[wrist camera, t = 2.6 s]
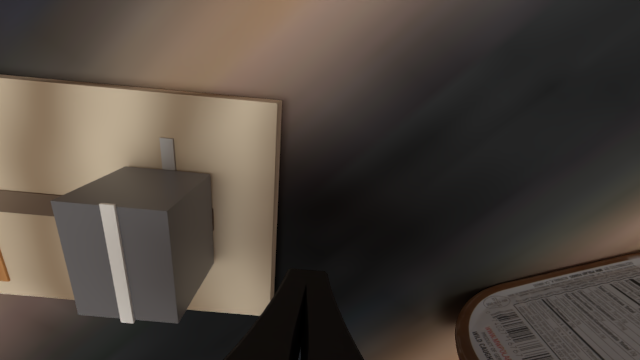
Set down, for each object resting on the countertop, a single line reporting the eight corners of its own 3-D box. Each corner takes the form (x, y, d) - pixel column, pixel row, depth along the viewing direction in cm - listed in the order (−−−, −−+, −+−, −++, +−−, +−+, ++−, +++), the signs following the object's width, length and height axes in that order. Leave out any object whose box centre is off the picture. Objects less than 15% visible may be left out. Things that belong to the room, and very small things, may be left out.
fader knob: (210, 171, 14) (165, 209, 10) (214, 264, 16) (177, 327, 12) (125, 164, 14) (46, 199, 10) (138, 258, 16) (76, 318, 12)
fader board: (282, 100, 14) (276, 103, 13) (273, 297, 18) (269, 318, 17) (-175, 58, 14) (-236, 56, 13) (-81, 267, 18) (-119, 284, 17)
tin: (438, 328, 19) (517, 509, 11) (428, 291, 18) (507, 460, 10) (697, 270, 17) (1014, 439, 9) (702, 224, 16) (1062, 369, 8)
